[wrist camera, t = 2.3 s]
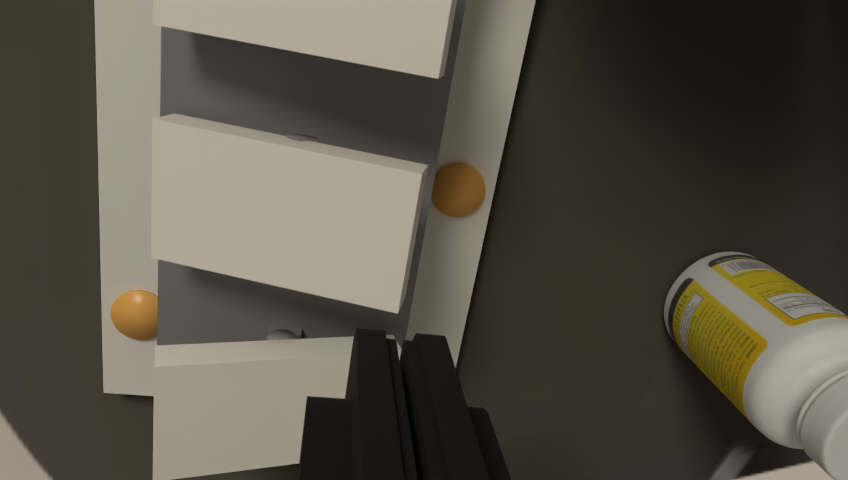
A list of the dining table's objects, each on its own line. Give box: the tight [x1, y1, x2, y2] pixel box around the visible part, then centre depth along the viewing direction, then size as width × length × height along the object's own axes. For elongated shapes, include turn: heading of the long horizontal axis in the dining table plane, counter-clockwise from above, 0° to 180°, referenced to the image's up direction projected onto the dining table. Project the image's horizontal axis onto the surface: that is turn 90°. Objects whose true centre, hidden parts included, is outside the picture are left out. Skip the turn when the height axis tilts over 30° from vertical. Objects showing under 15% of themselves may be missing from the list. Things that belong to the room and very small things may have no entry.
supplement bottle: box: [664, 252, 848, 480], centre depth 24 cm, size 5×5×10 cm
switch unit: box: [95, 0, 536, 396], centre depth 22 cm, size 15×22×4 cm
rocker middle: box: [151, 113, 428, 314], centre depth 19 cm, size 8×4×2 cm, turn 80°
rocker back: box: [153, 329, 401, 480], centre depth 21 cm, size 8×4×2 cm, turn 82°
